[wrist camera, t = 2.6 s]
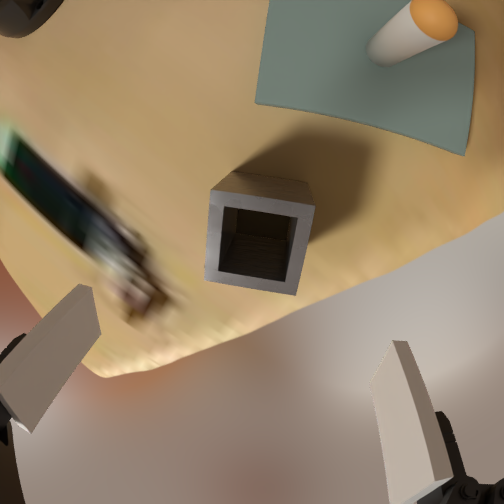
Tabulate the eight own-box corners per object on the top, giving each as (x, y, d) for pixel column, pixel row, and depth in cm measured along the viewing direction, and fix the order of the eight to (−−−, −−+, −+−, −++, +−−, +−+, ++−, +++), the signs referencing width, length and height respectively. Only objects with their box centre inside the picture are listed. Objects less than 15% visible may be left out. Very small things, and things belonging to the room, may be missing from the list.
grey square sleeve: (224, 240, 29) (204, 280, 22) (231, 171, 26) (210, 189, 19) (294, 251, 29) (295, 295, 22) (307, 182, 26) (315, 206, 19)
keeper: (257, 104, 24) (227, 83, 11) (275, -23, 18) (264, -108, 5) (454, 153, 23) (546, 185, 10) (465, 34, 17) (546, 9, 4)
